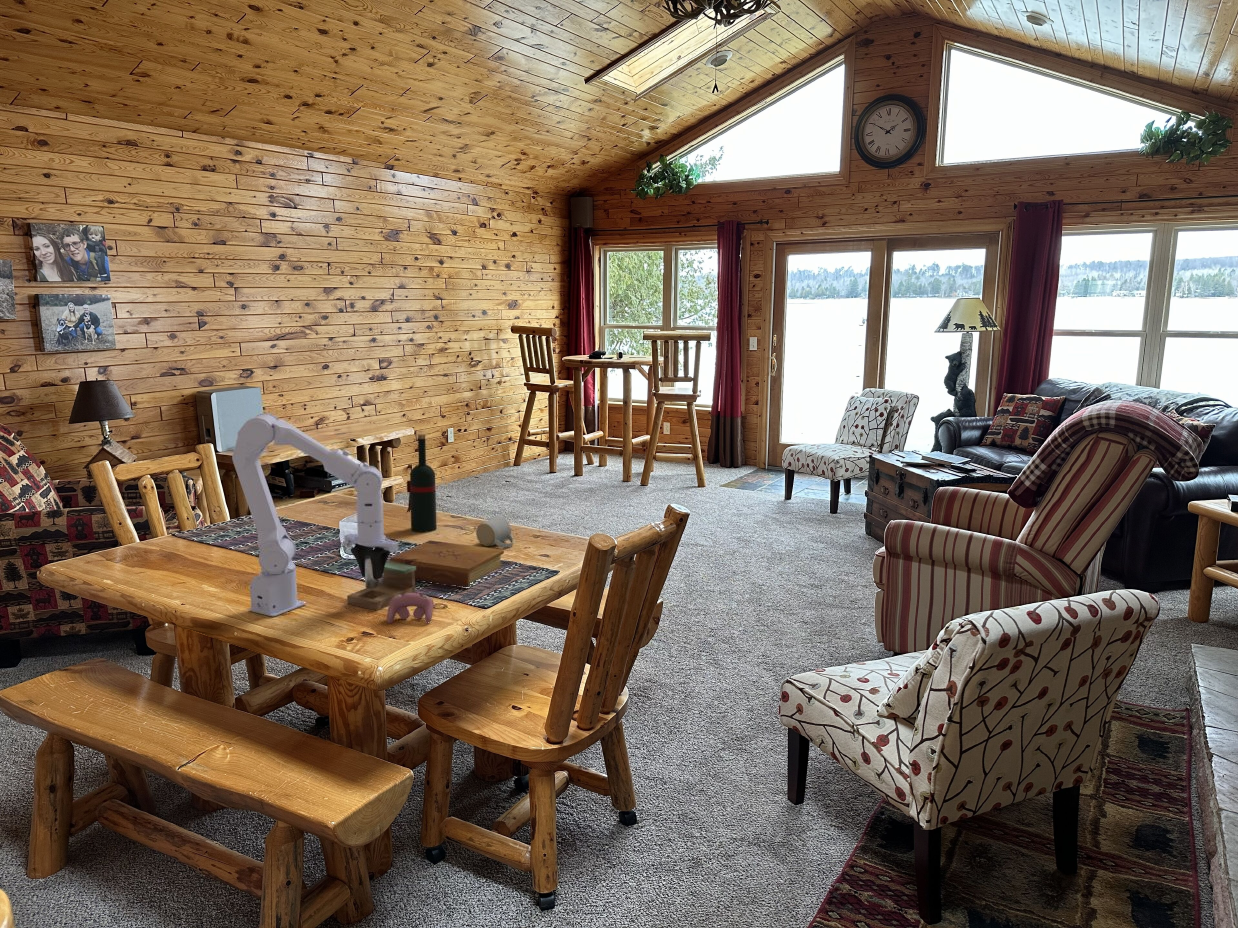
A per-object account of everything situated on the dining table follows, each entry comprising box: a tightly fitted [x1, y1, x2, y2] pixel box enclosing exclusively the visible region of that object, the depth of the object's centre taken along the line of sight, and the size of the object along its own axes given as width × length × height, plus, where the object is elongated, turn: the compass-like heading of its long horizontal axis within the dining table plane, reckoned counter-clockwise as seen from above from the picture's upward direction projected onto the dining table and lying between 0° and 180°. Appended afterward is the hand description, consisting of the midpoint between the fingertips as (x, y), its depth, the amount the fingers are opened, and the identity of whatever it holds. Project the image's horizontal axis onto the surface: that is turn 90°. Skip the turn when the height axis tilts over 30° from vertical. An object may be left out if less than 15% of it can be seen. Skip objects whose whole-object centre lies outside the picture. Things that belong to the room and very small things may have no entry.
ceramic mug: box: [475, 515, 515, 549], centre depth 239 cm, size 11×8×8 cm
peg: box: [364, 556, 380, 589], centre depth 188 cm, size 3×3×7 cm
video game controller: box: [386, 592, 435, 625], centre depth 180 cm, size 10×5×7 cm, turn 92°
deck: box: [346, 560, 416, 611], centre depth 192 cm, size 13×10×7 cm
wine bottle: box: [405, 433, 438, 533], centre depth 253 cm, size 8×10×30 cm
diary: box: [389, 539, 505, 587], centre depth 212 cm, size 23×19×6 cm
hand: (372, 577), depth 189 cm, fingers closed on peg, 3 cm apart
